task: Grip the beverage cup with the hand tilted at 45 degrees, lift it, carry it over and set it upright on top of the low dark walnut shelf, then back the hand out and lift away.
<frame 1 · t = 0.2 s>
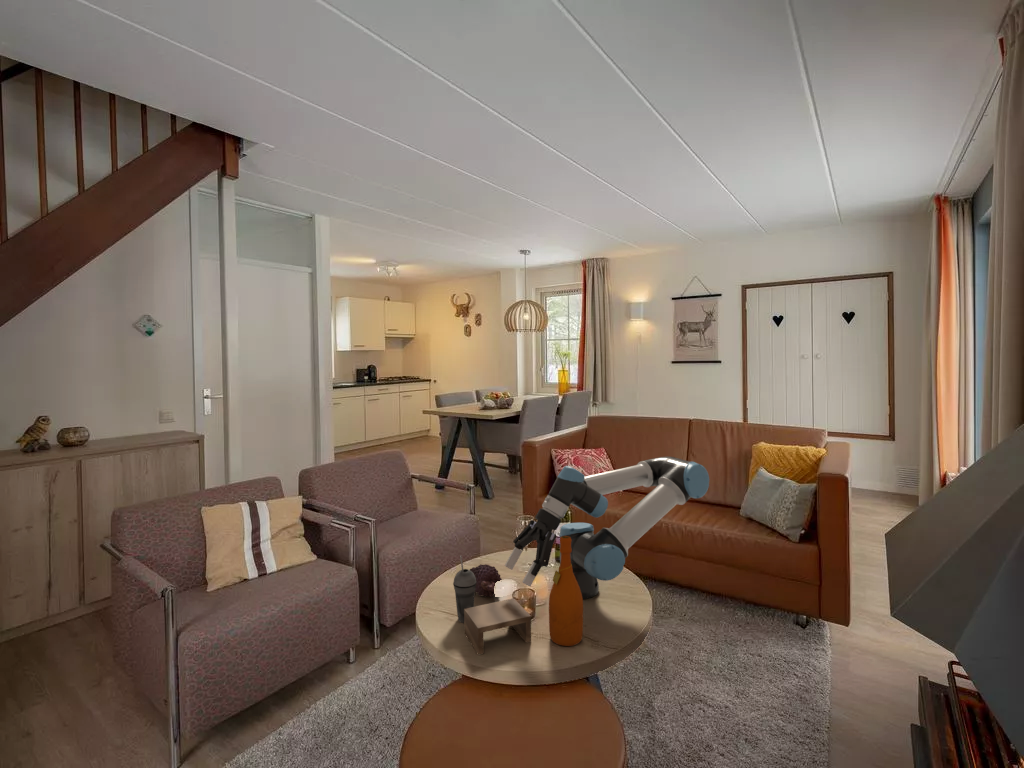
hand: (516, 575, 154), 15 cm above the table, tool tilted 35°, fingers open, 13 cm apart
walnut shelf: (497, 637, 148), on the table
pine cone: (485, 594, 176), on the table
beverage cup: (465, 619, 159), on the table
wine bottle: (566, 639, 147), on the table
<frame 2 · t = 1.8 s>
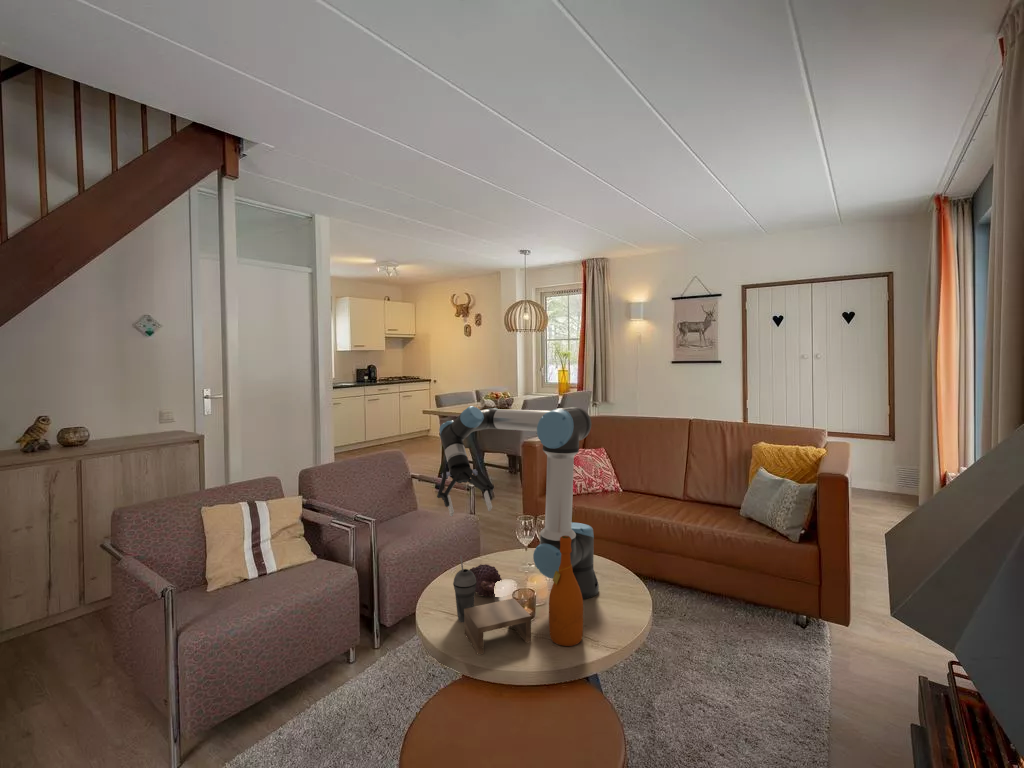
hand: (471, 511, 172), 30 cm above the table, tool tilted 45°, fingers open, 13 cm apart
nothing on the table moved.
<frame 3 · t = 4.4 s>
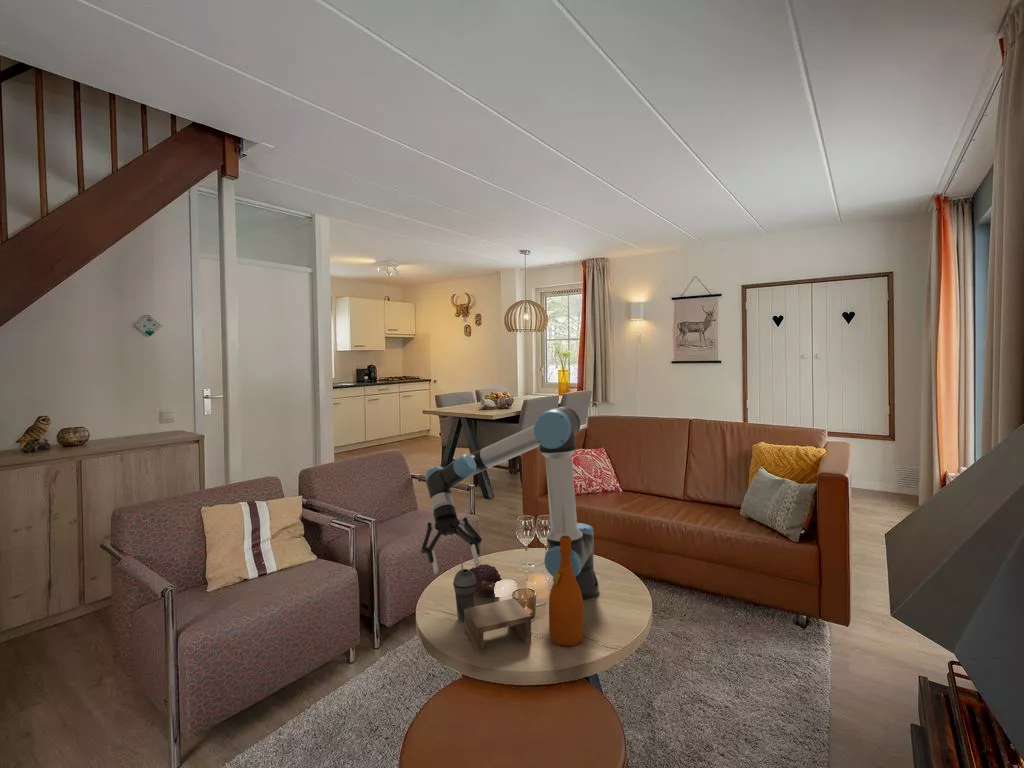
hand: (457, 568, 163), 14 cm above the table, tool tilted 45°, fingers open, 13 cm apart
nothing on the table moved.
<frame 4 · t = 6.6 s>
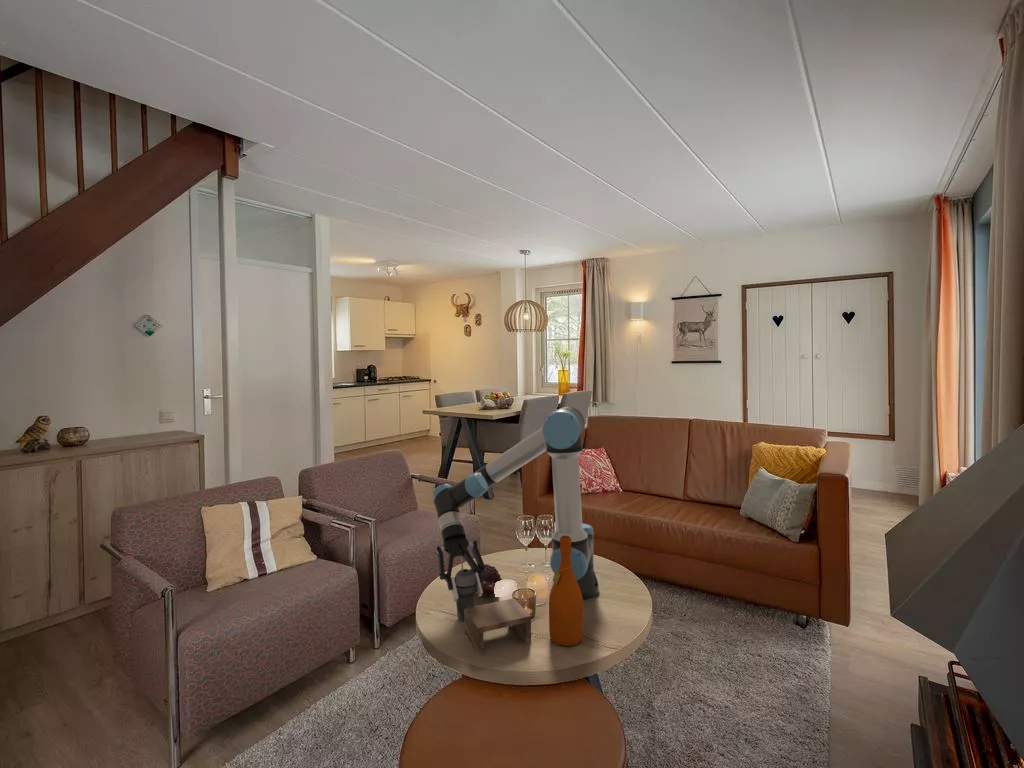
hand: (468, 597, 156), 9 cm above the table, tool tilted 45°, fingers closed on beverage cup, 7 cm apart
beverage cup: (465, 619, 159), on the table, touching gripper
everything else where it was.
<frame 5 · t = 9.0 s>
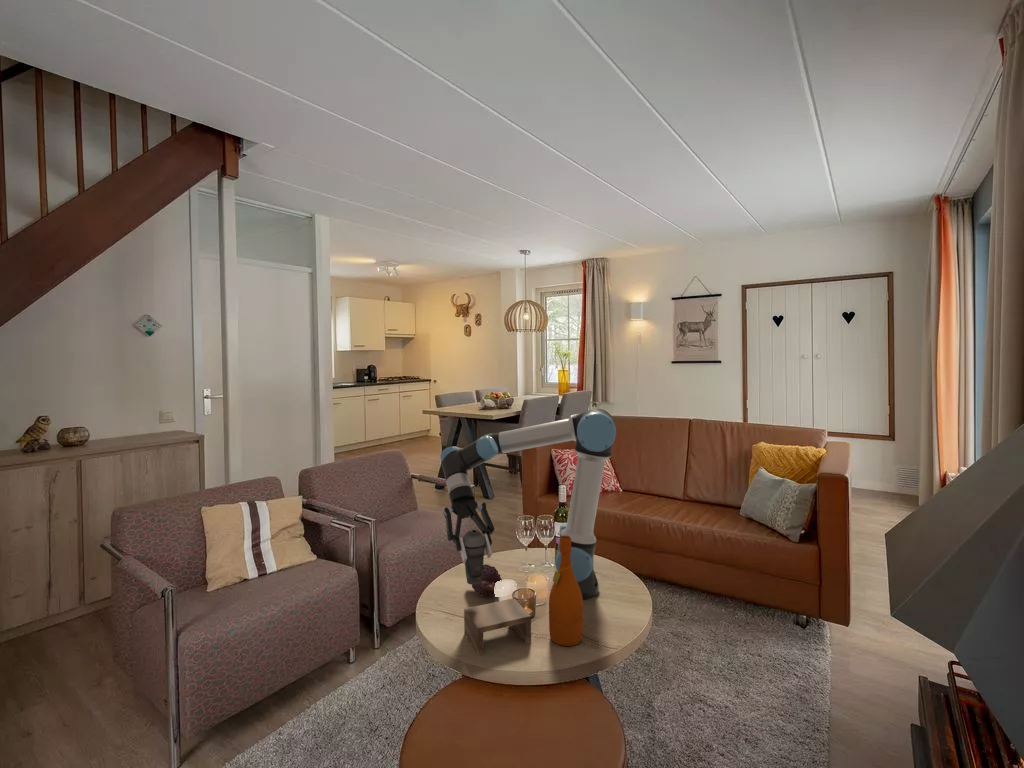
hand: (477, 557, 151), 22 cm above the table, tool tilted 45°, fingers closed on beverage cup, 7 cm apart
beverage cup: (474, 582, 154), point 14 cm above the table, touching gripper
everything else where it was.
when the fingers open (17 cm above the table, at t = 11.2 s): beverage cup drops 1 cm, resting on walnut shelf.
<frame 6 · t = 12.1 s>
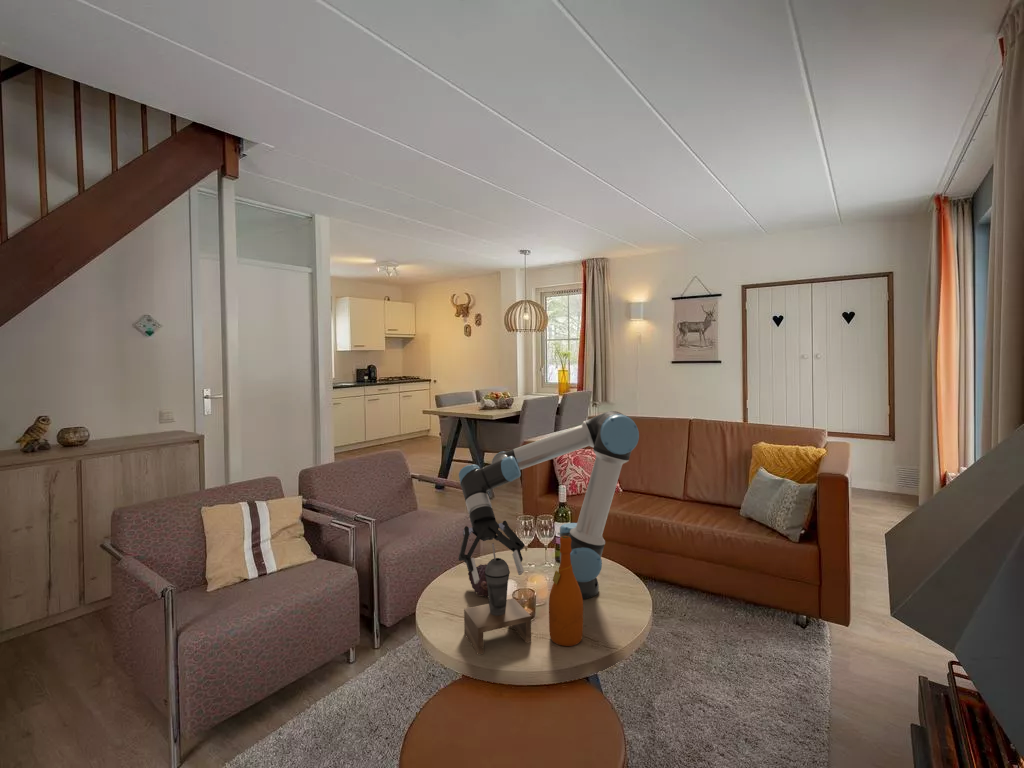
hand: (499, 577, 145), 19 cm above the table, tool tilted 45°, fingers open, 13 cm apart
beverage cup: (497, 612, 148), point 7 cm above the table, touching walnut shelf
everything else where it was.
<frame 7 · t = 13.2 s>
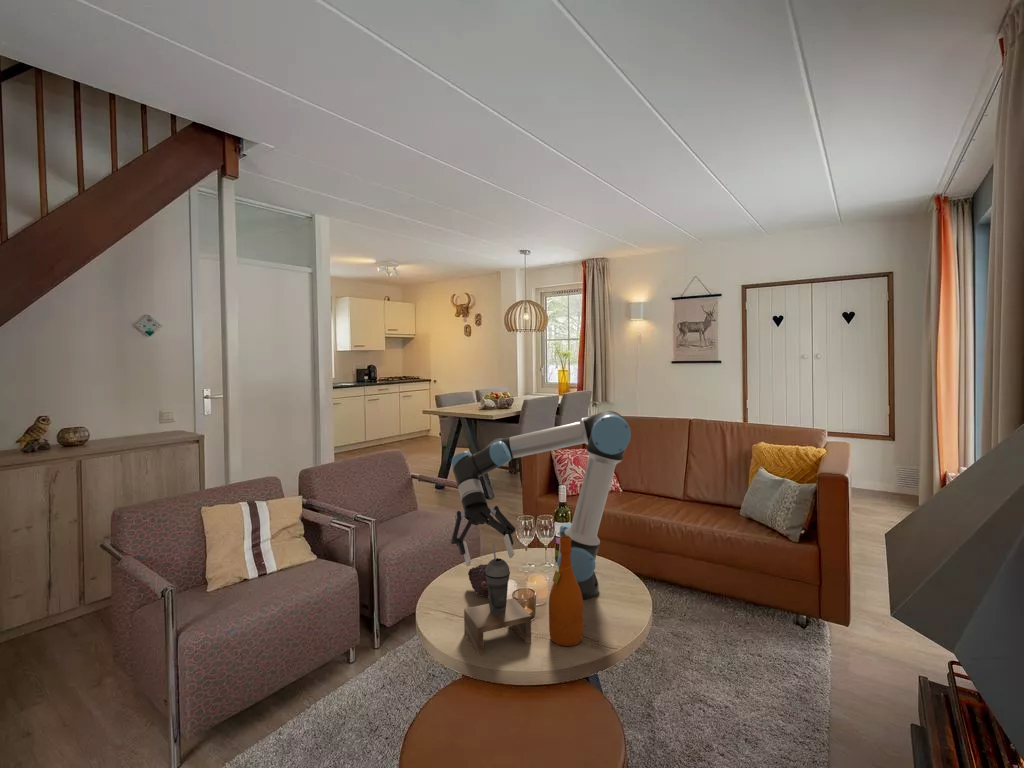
hand: (490, 560, 150), 22 cm above the table, tool tilted 45°, fingers open, 13 cm apart
nothing on the table moved.
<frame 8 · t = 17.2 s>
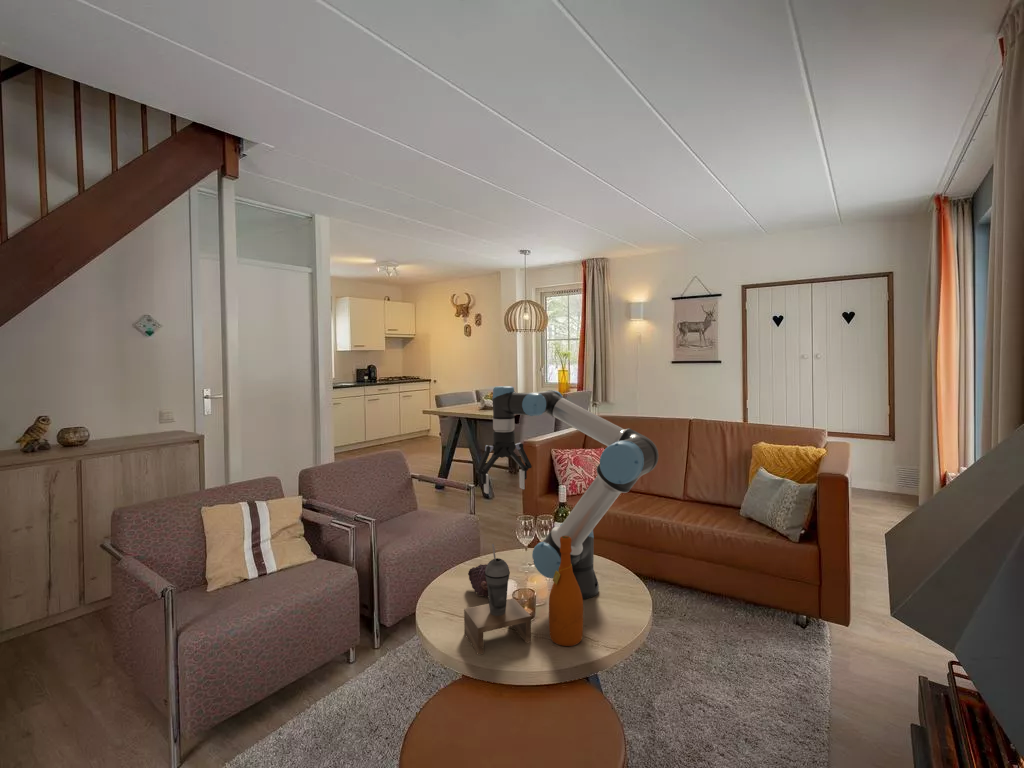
hand: (504, 490, 179), 35 cm above the table, tool pointing down, fingers open, 13 cm apart
nothing on the table moved.
at the end: beverage cup inside the target area (0.3 cm from its centre), point 7.3 cm above the table; beverage cup tilted 0°; the gripper is holding nothing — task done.
